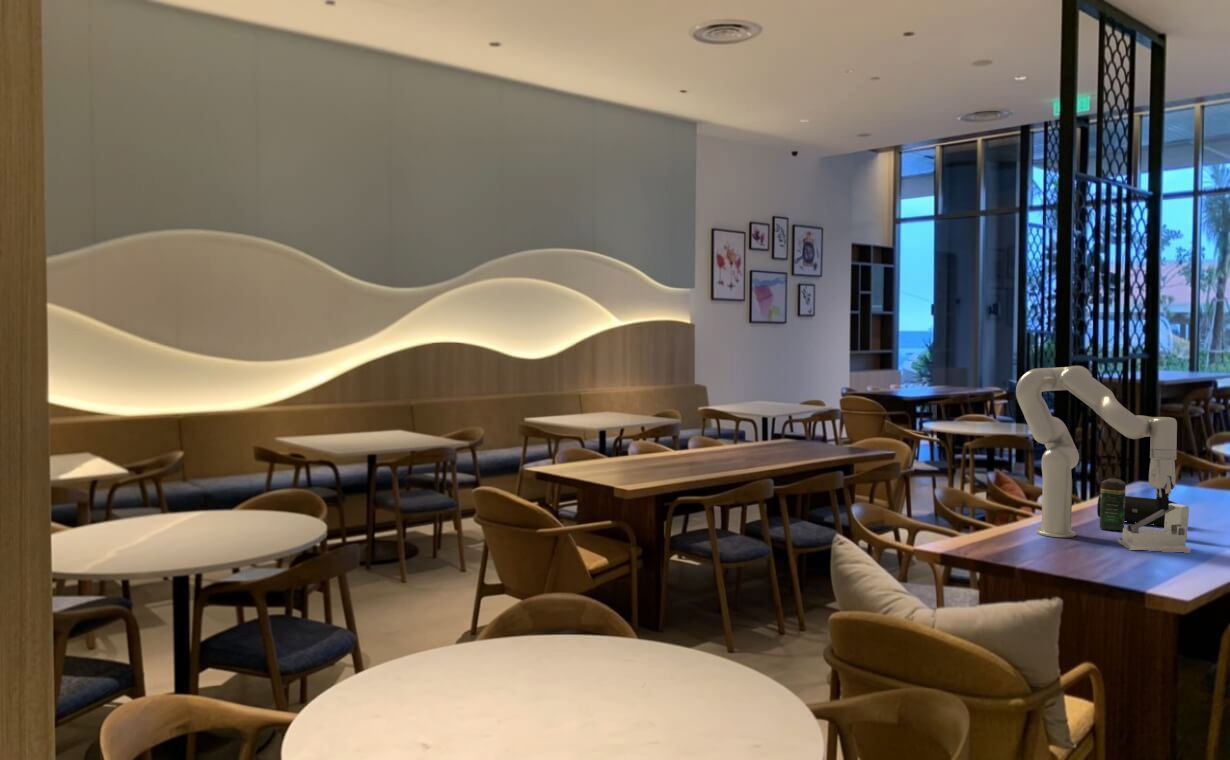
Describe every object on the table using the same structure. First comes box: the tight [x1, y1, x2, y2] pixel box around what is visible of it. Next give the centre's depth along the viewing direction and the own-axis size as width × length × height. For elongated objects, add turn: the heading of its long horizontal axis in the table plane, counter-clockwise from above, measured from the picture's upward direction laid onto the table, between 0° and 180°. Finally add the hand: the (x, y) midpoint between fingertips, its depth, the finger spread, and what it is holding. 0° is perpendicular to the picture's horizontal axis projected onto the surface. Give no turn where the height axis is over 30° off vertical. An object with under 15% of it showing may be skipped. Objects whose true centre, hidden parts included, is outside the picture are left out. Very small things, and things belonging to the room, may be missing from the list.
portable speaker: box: [1096, 495, 1178, 527], centre depth 345 cm, size 26×10×10 cm, turn 53°
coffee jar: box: [1099, 477, 1127, 531], centre depth 333 cm, size 10×8×19 cm
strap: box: [1129, 505, 1176, 530], centre depth 303 cm, size 3×15×1 cm
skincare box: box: [1163, 503, 1190, 541], centre depth 316 cm, size 6×4×12 cm
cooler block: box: [1117, 523, 1192, 554], centre depth 303 cm, size 12×18×8 cm, turn 79°
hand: (1162, 508), depth 302 cm, fingers closed
